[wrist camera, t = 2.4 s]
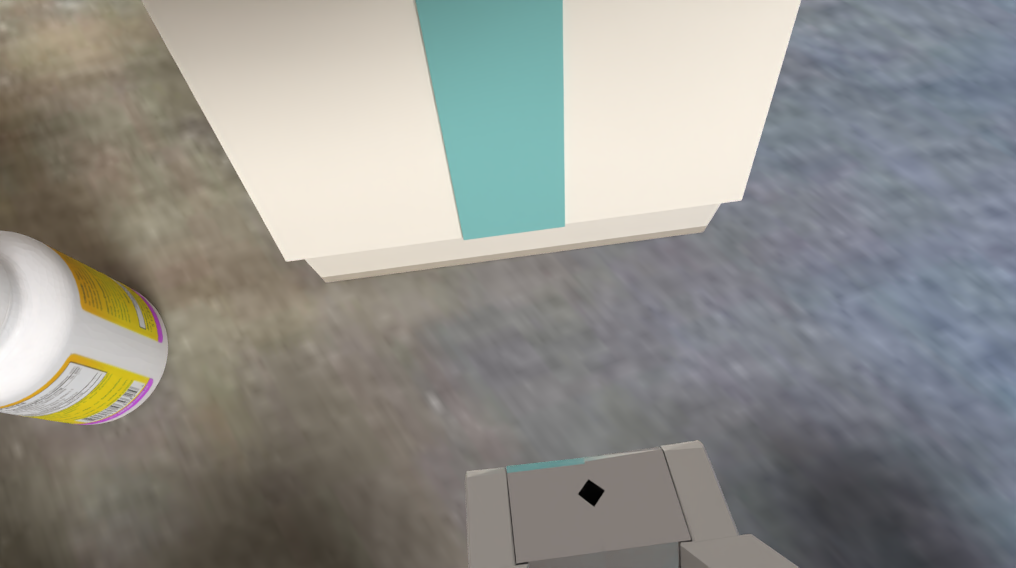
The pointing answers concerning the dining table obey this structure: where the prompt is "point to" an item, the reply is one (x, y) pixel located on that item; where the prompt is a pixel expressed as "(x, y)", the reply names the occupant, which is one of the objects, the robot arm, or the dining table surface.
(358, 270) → the storage box
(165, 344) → the supplement bottle
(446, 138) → the box lid
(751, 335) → the dining table surface
